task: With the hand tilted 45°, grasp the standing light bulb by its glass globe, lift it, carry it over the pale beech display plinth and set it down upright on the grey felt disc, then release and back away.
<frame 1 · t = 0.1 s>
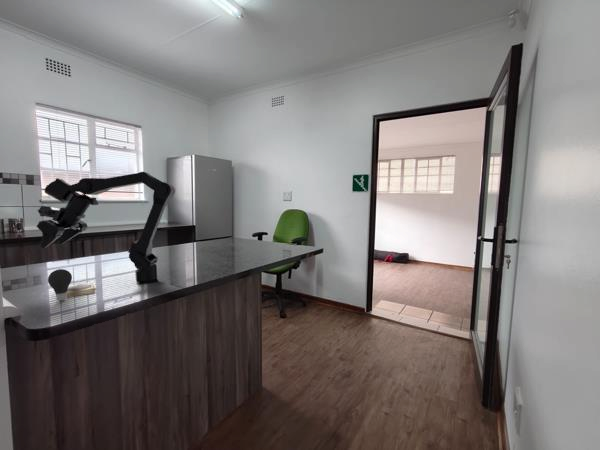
hand: (51, 245, 99), 15 cm above the countertop, tool tilted 35°, fingers open, 9 cm apart
light bulb: (61, 301, 85), on the countertop
plinth: (77, 292, 94), on the countertop
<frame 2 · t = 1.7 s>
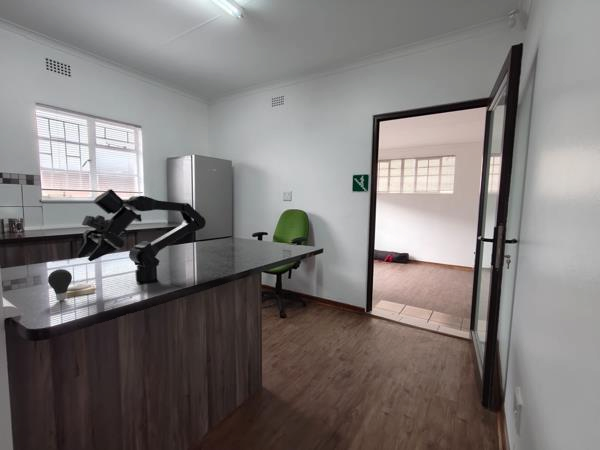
hand: (83, 258, 90), 12 cm above the countertop, tool tilted 45°, fingers open, 9 cm apart
nothing on the countertop moved.
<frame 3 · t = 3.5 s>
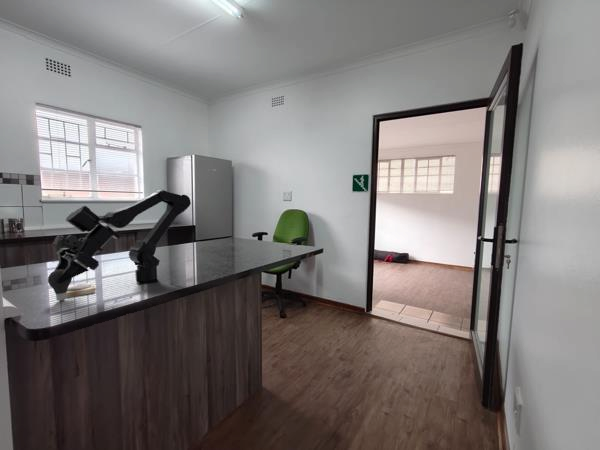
hand: (54, 281, 84), 7 cm above the countertop, tool tilted 45°, fingers closed on light bulb, 6 cm apart
light bulb: (61, 301, 85), on the countertop, touching gripper
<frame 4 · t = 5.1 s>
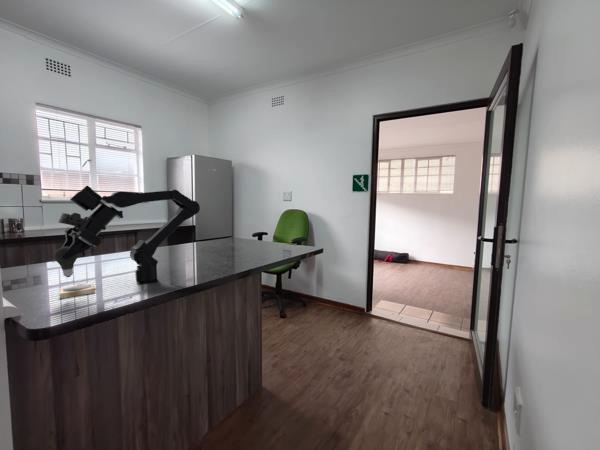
hand: (60, 257, 87), 13 cm above the countertop, tool tilted 45°, fingers closed on light bulb, 6 cm apart
light bulb: (68, 277, 89), point 6 cm above the countertop, touching gripper
when the fingers open (9 cm above the countertop, at t = 6.5 s): light bulb stays where it is, resting on plinth.
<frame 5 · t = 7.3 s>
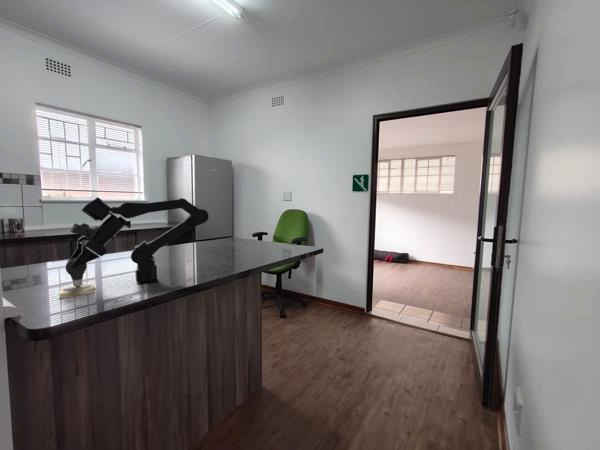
hand: (70, 265, 92), 10 cm above the countertop, tool tilted 45°, fingers open, 9 cm apart
light bulb: (78, 287, 94), point 2 cm above the countertop, touching plinth
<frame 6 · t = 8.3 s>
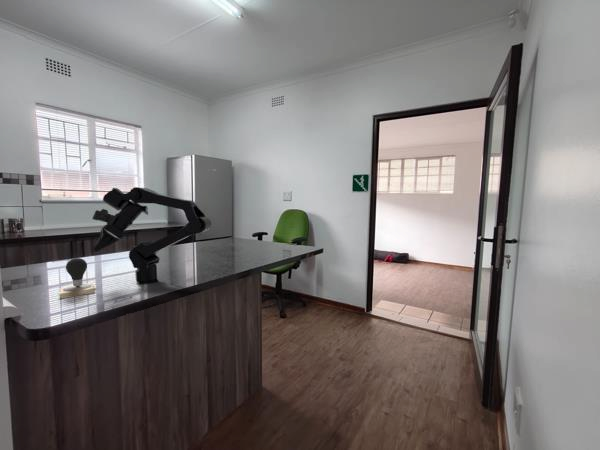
hand: (94, 250, 97), 14 cm above the countertop, tool tilted 40°, fingers open, 9 cm apart
nothing on the countertop moved.
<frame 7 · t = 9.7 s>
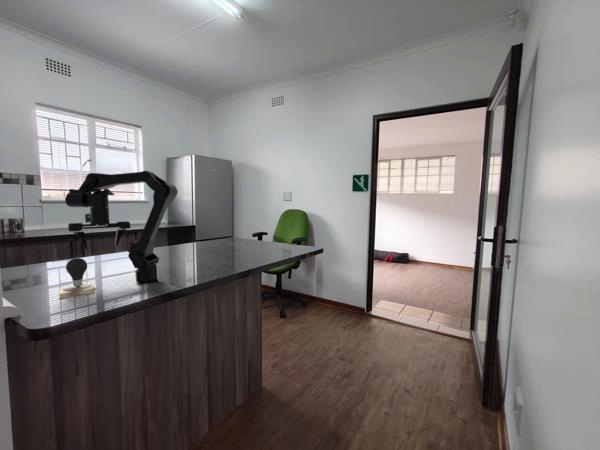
hand: (101, 248, 105), 13 cm above the countertop, tool pointing down, fingers open, 9 cm apart
nothing on the countertop moved.
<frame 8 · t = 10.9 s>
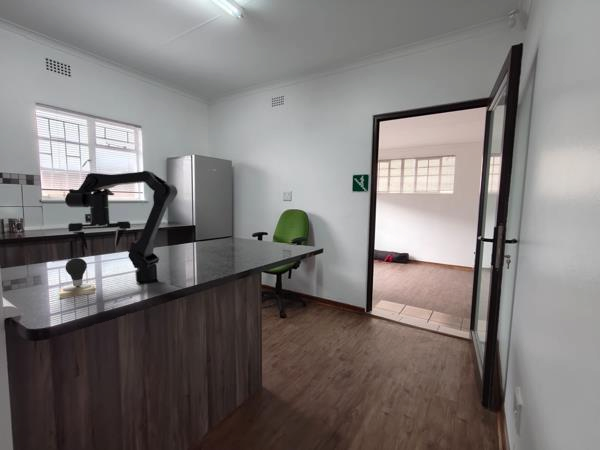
hand: (101, 248, 105), 13 cm above the countertop, tool pointing down, fingers open, 9 cm apart
nothing on the countertop moved.
at the end: light bulb inside the target area on the plinth (0.2 cm from its centre), point 1.5 cm above the plinth's base; light bulb tilted 1°; the gripper is holding nothing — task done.
